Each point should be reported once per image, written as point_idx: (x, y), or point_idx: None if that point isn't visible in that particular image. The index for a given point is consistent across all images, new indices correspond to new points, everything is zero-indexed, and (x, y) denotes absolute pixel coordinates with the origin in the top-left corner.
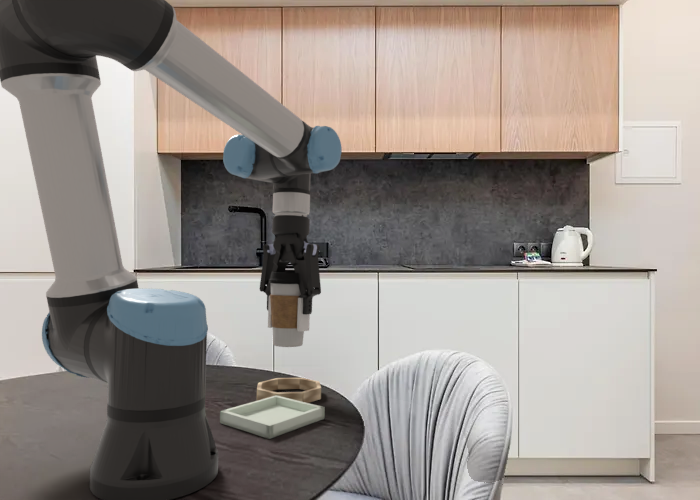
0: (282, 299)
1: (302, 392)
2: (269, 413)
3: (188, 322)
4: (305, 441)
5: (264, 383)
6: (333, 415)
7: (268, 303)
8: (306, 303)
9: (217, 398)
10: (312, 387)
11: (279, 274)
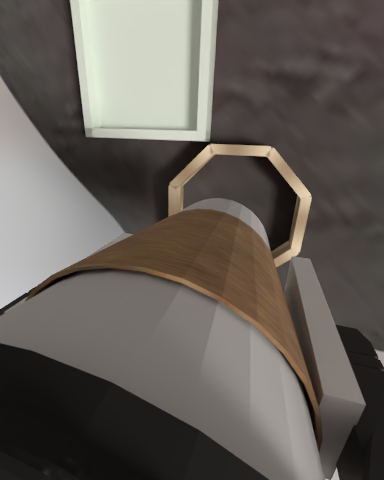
0: (93, 256)
1: (172, 186)
2: (167, 72)
3: None
4: (42, 19)
5: (298, 206)
6: (101, 162)
7: (364, 366)
8: (15, 302)
9: (376, 95)
10: None
11: None
